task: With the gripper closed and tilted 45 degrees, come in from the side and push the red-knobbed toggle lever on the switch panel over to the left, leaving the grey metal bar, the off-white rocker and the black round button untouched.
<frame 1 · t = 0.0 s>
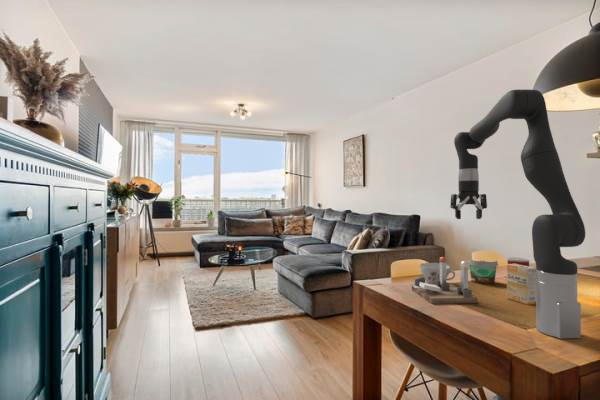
hand: (468, 219, 139), 29 cm above the table, tool pointing down, fingers open, 8 cm apart
food container: (484, 283, 149), on the table
button: (419, 281, 137), point 4 cm above the table, slide at 0.0 cm
teacup: (437, 284, 149), on the table
red toggle: (442, 272, 132), point 8 cm above the table, hinge at 0.0°
supplement box: (521, 301, 122), on the table
panel: (442, 295, 130), on the table
rocker: (429, 286, 128), point 4 cm above the table, hinge at 12.0°
grey metal bar: (464, 278, 123), point 8 cm above the table, hinge at 0.0°
canned food: (518, 284, 147), on the table
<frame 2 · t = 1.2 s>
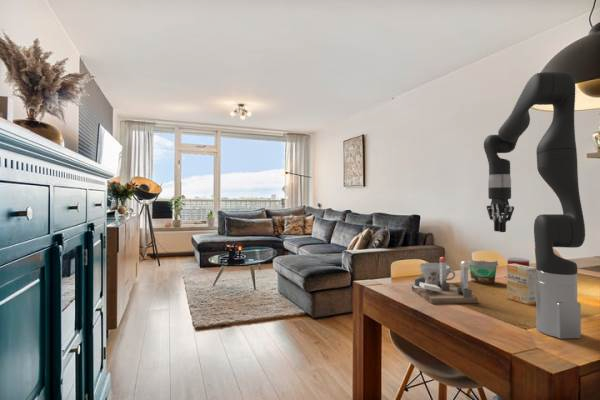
hand: (499, 231, 128), 25 cm above the table, tool pointing down, fingers closed
nothing on the table moved.
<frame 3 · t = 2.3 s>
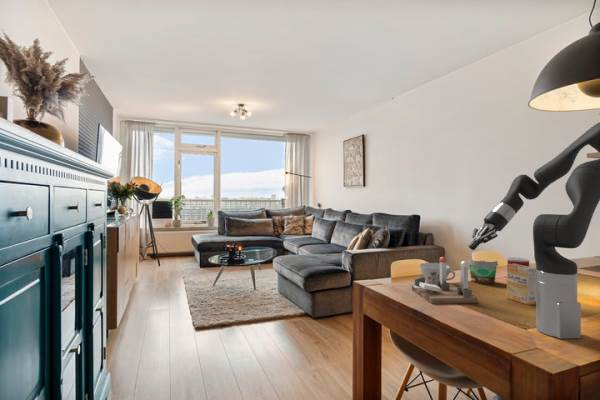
hand: (470, 248, 133), 18 cm above the table, tool tilted 45°, fingers closed
nothing on the table moved.
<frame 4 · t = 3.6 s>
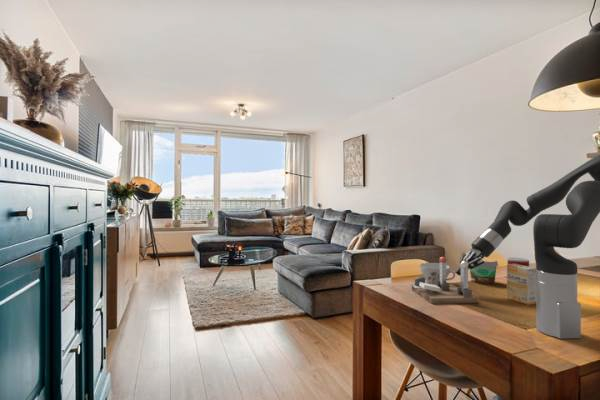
hand: (457, 273, 133), 8 cm above the table, tool tilted 45°, fingers closed
nothing on the table moved.
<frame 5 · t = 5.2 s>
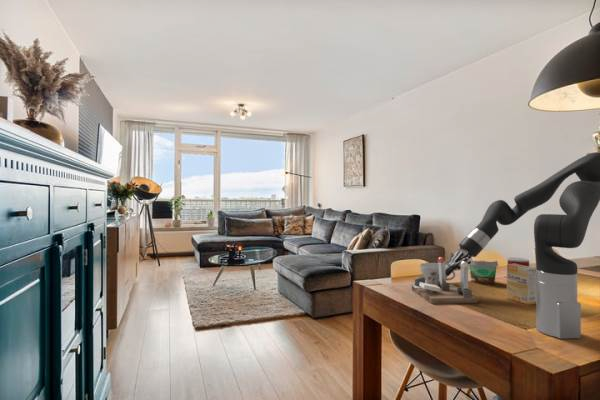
hand: (445, 274, 133), 8 cm above the table, tool tilted 45°, fingers closed
red toggle: (442, 272, 132), point 8 cm above the table, hinge at -3.3°, touching gripper
everything else where it was.
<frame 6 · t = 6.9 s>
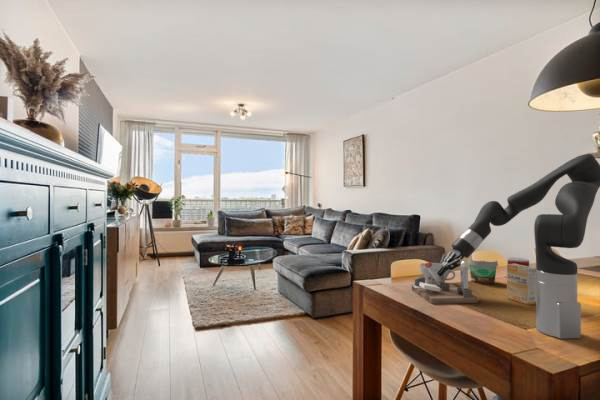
hand: (437, 274, 133), 8 cm above the table, tool tilted 45°, fingers closed
red toggle: (435, 275, 132), point 7 cm above the table, hinge at -34.0°, touching gripper
everything else where it was.
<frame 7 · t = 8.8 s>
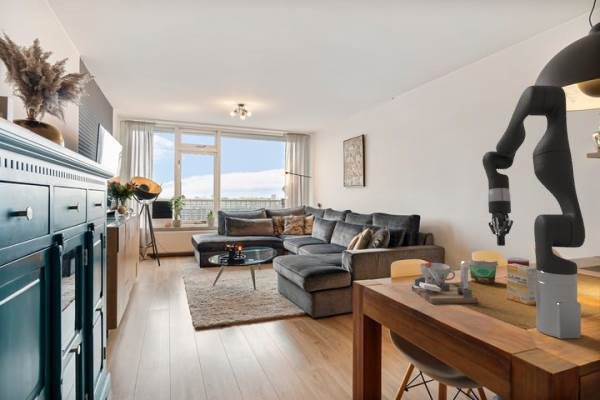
hand: (501, 245, 128), 20 cm above the table, tool pointing down, fingers closed
red toggle: (435, 275, 132), point 7 cm above the table, hinge at -34.0°
everything else where it was.
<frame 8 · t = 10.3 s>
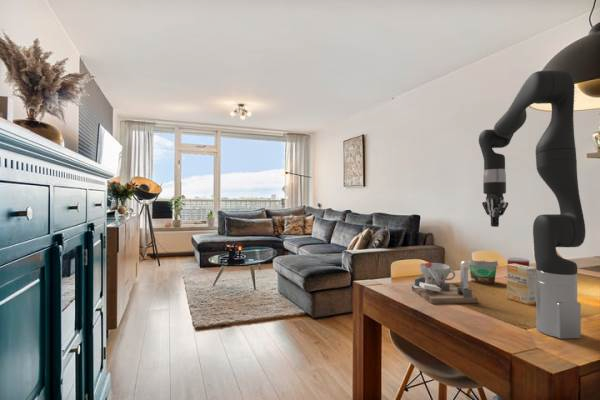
hand: (494, 226, 128), 27 cm above the table, tool pointing down, fingers closed
nothing on the table moved.
at the end: red toggle at -34° (first picture: +0°); grey metal bar at +0° (first picture: +0°); button slide at 0.0 cm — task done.
